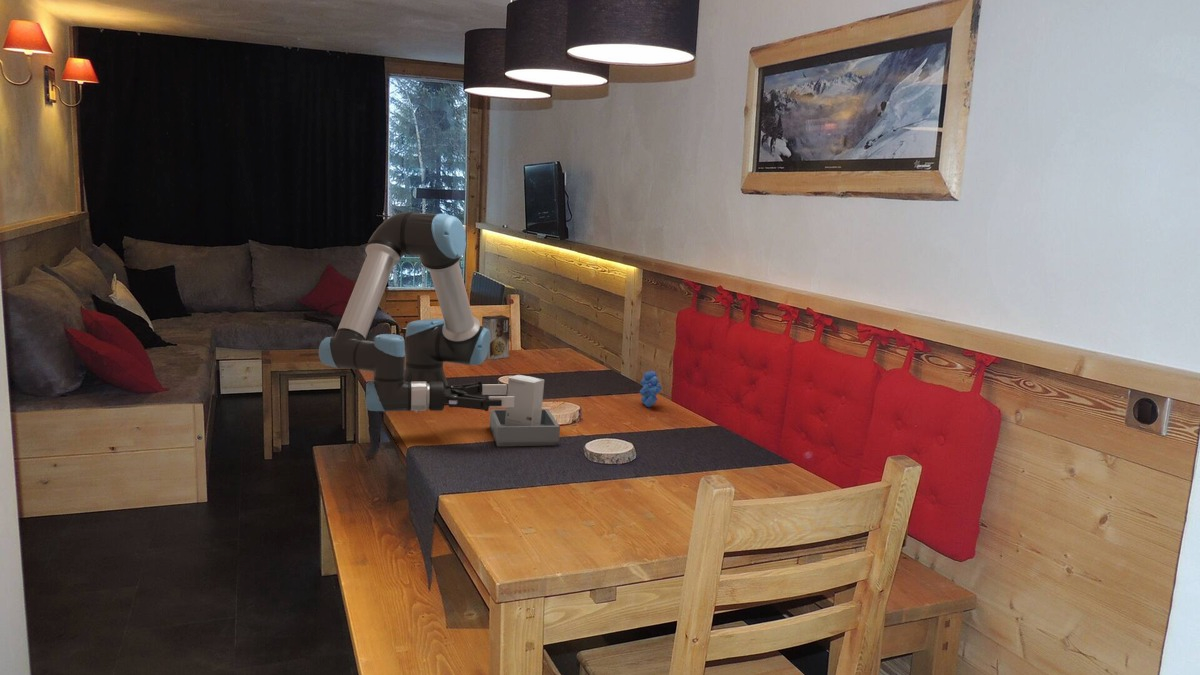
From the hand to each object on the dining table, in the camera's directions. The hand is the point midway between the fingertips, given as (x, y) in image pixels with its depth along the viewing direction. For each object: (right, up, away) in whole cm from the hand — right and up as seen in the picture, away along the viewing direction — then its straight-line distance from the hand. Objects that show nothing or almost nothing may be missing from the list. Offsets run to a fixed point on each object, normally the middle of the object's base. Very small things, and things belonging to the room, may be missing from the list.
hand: (510, 395), depth 220 cm
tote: (+3, -11, +3) cm, 12 cm away
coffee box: (-18, +7, +107) cm, 109 cm away
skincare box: (+3, -10, +3) cm, 11 cm away
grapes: (+40, -7, +41) cm, 58 cm away
